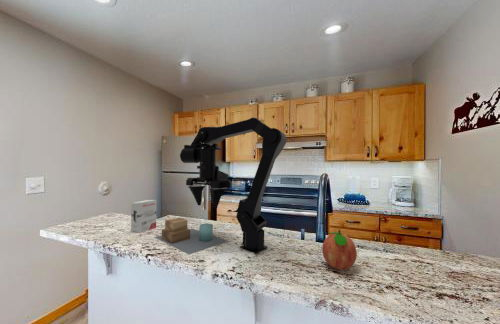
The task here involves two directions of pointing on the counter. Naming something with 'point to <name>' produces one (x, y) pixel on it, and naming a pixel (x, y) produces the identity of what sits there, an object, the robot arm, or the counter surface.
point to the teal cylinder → (206, 232)
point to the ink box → (143, 216)
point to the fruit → (339, 251)
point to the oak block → (176, 224)
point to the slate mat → (194, 243)
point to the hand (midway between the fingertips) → (207, 206)
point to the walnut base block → (175, 236)
